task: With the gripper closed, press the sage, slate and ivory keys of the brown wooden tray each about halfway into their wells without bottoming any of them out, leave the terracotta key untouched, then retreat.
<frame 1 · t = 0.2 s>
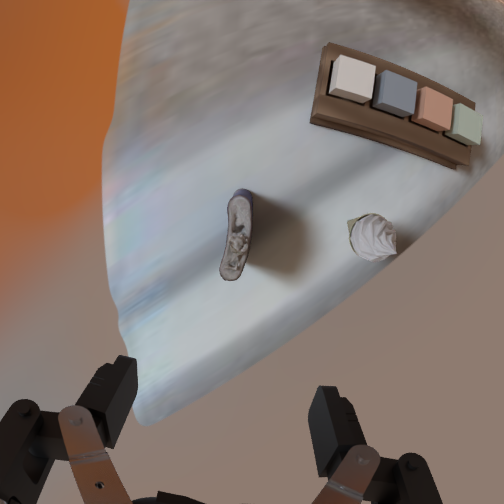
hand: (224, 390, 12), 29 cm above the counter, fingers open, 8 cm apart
flask: (240, 224, 40), on the counter
brown wooden tray: (395, 108, 35), on the counter
key d sage: (464, 124, 30), point 6 cm above the counter, slide at 0.0 cm
key c terracotta: (432, 109, 30), point 6 cm above the counter, slide at 0.0 cm
key a ivory: (352, 79, 29), point 6 cm above the counter, slide at 0.0 cm
key b slate: (395, 94, 30), point 6 cm above the counter, slide at 0.0 cm
ice cream cone: (348, 222, 40), on the counter
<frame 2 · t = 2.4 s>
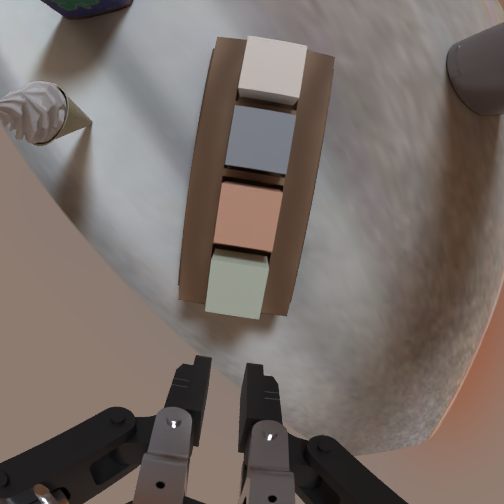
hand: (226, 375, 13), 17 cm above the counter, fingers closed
flask: (97, 7, 22), on the counter
brown wooden tray: (253, 174, 27), on the counter
key d sage: (236, 283, 24), point 6 cm above the counter, slide at 0.0 cm
key c terracotta: (247, 214, 23), point 6 cm above the counter, slide at 0.0 cm
key a ivory: (272, 71, 20), point 6 cm above the counter, slide at 0.0 cm
key b slate: (260, 140, 21), point 6 cm above the counter, slide at 0.0 cm
ice cream cone: (91, 122, 26), on the counter
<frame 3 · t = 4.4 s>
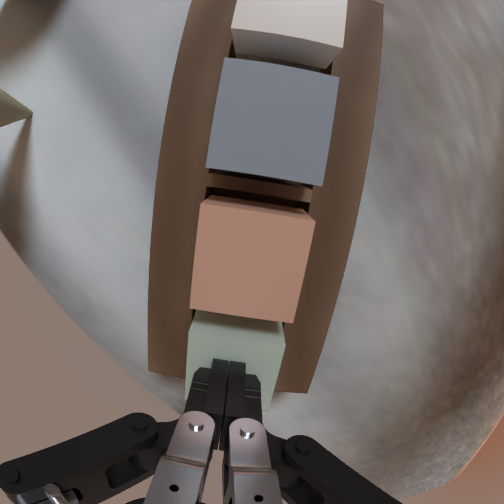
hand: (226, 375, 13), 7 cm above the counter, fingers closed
brown wooden tray: (258, 182, 18), on the counter
key d sage: (233, 357, 15), point 5 cm above the counter, slide at 0.3 cm, touching gripper
key c terracotta: (249, 255, 13), point 6 cm above the counter, slide at 0.0 cm
key a ivory: (290, 10, 10), point 6 cm above the counter, slide at 0.0 cm
key b slate: (271, 123, 12), point 6 cm above the counter, slide at 0.0 cm
ice cream cone: (31, 113, 16), on the counter
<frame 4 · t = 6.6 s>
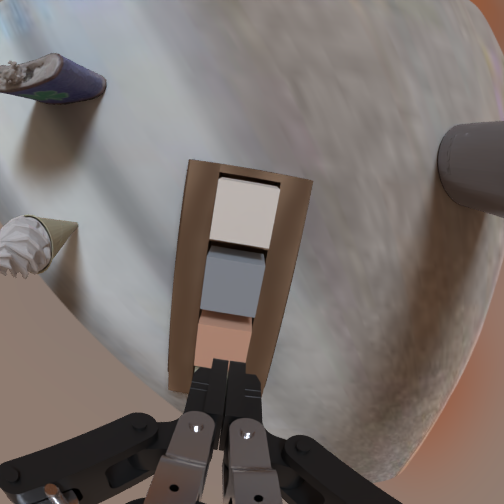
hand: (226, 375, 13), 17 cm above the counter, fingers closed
flask: (71, 90, 25), on the counter
brown wooden tray: (231, 285, 30), on the counter
key d sage: (216, 377, 28), point 4 cm above the counter, slide at 1.5 cm
key c terracotta: (222, 340, 26), point 6 cm above the counter, slide at 0.0 cm
key a ivory: (244, 210, 23), point 6 cm above the counter, slide at 0.0 cm
key b slate: (232, 280, 24), point 6 cm above the counter, slide at 0.0 cm
ice cream cone: (77, 224, 28), on the counter
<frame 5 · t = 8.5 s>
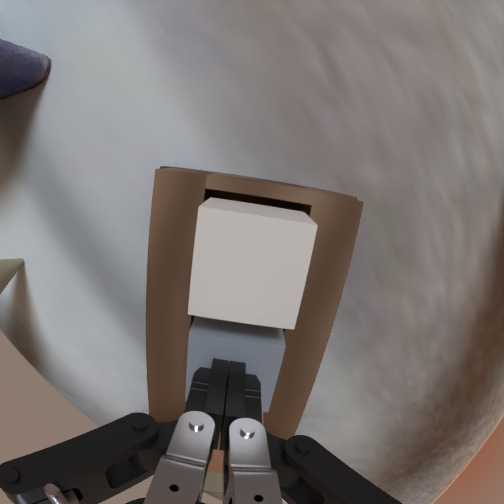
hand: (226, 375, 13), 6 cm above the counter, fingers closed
flask: (11, 80, 15), on the counter
brown wooden tray: (232, 349, 20), on the counter
key d sage: (216, 464, 19), point 4 cm above the counter, slide at 1.5 cm
key c terracotta: (221, 436, 16), point 6 cm above the counter, slide at 0.0 cm
key a ivory: (249, 259, 13), point 6 cm above the counter, slide at 0.0 cm
key b slate: (233, 358, 15), point 5 cm above the counter, slide at 0.7 cm, touching gripper
ice cream cone: (23, 260, 19), on the counter
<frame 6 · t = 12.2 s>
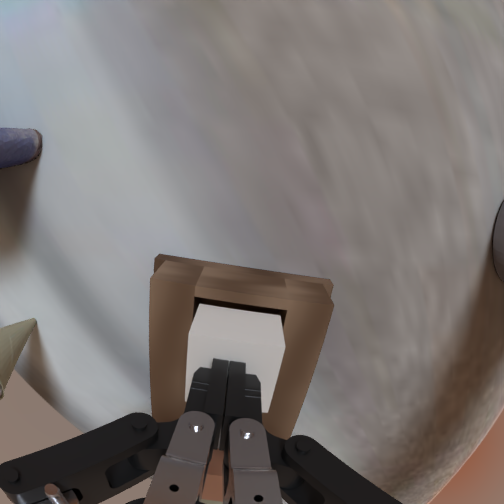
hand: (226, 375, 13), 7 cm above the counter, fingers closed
flask: (5, 149, 17), on the counter
brown wooden tray: (224, 400, 22), on the counter
key d sage: (212, 489, 21), point 4 cm above the counter, slide at 1.5 cm
key c terracotta: (215, 473, 18), point 6 cm above the counter, slide at 0.0 cm
key a ivory: (233, 359, 15), point 6 cm above the counter, slide at 0.1 cm, touching gripper
key b slate: (223, 413, 18), point 4 cm above the counter, slide at 1.5 cm
ice cream cone: (35, 319, 21), on the counter
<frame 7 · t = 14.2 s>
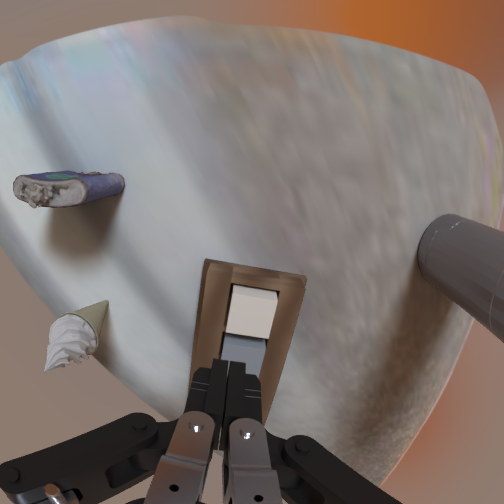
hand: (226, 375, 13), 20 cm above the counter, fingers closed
flask: (90, 182, 31), on the counter
brown wooden tray: (238, 353, 37), on the counter
key d sage: (227, 421, 35), point 4 cm above the counter, slide at 1.5 cm
key a ivory: (251, 309, 30), point 4 cm above the counter, slide at 1.5 cm
key b slate: (241, 354, 32), point 4 cm above the counter, slide at 1.5 cm
ice cream cone: (107, 301, 35), on the counter
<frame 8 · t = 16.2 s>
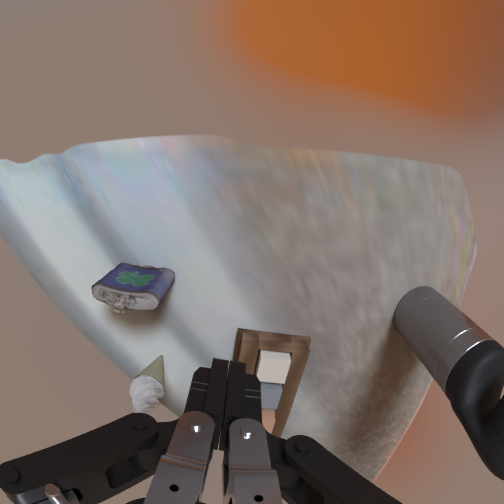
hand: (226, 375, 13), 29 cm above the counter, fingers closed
flask: (145, 273, 43), on the counter
brown wooden tray: (261, 388, 49), on the counter
key c terracotta: (259, 422, 44), point 6 cm above the counter, slide at 0.0 cm
key a ivory: (272, 365, 42), point 4 cm above the counter, slide at 1.5 cm
key b slate: (265, 392, 44), point 4 cm above the counter, slide at 1.5 cm
ice cream cone: (161, 355, 47), on the counter
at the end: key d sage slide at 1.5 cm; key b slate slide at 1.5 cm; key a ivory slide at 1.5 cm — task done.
